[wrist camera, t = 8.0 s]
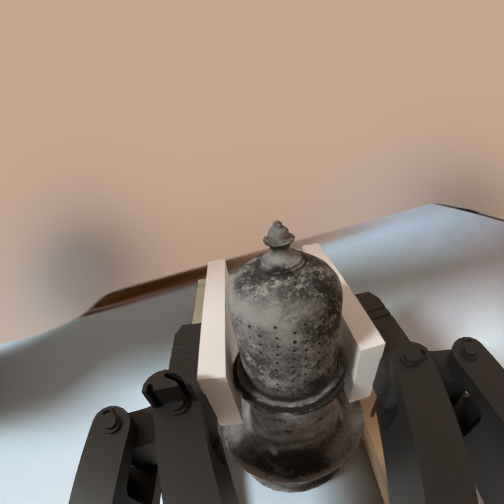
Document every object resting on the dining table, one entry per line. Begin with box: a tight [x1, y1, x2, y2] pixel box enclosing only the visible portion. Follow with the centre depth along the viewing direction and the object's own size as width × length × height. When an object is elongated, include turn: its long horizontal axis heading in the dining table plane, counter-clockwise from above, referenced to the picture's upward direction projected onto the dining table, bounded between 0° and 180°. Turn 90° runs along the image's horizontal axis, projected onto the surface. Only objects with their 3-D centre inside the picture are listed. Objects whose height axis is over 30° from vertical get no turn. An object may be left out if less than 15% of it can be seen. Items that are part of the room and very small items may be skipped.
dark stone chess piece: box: [223, 221, 364, 493], centre depth 8 cm, size 6×6×12 cm
